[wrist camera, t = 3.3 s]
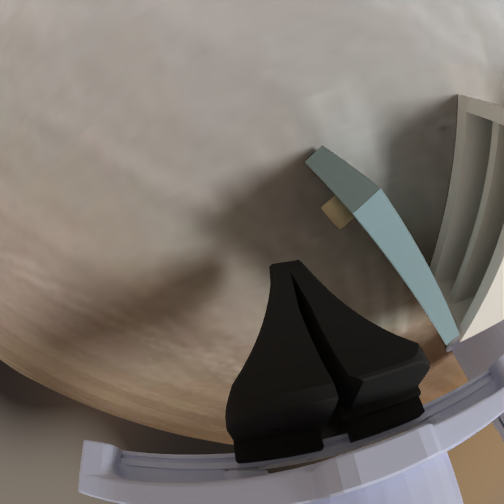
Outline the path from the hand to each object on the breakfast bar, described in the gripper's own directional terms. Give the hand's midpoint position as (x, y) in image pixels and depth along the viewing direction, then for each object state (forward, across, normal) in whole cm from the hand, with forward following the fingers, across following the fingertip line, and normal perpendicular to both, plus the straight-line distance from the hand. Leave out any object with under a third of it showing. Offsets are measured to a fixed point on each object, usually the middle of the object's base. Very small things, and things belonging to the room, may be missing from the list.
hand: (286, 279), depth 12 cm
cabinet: (+3, -16, -1) cm, 17 cm away
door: (+3, -7, +1) cm, 7 cm away
